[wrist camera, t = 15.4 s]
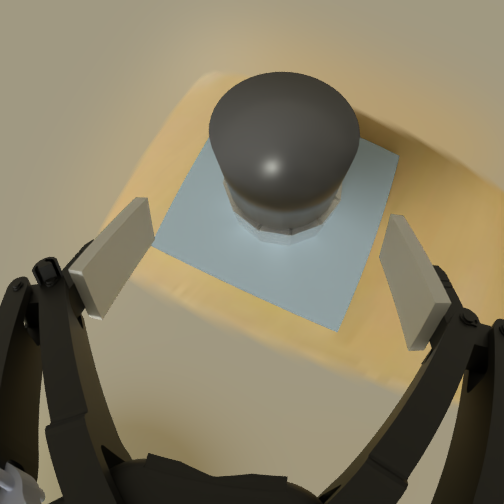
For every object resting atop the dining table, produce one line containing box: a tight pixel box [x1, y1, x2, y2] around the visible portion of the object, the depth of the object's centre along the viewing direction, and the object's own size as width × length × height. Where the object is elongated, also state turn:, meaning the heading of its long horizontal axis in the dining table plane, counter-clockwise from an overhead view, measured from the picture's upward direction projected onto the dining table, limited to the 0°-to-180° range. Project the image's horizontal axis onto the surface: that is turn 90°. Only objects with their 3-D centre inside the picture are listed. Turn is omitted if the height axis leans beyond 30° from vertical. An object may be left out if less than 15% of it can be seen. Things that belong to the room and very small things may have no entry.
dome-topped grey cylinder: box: [209, 72, 360, 230], centre depth 22 cm, size 9×9×12 cm
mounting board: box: [151, 137, 399, 332], centre depth 29 cm, size 20×20×2 cm
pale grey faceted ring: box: [223, 178, 342, 246], centre depth 26 cm, size 10×10×4 cm
